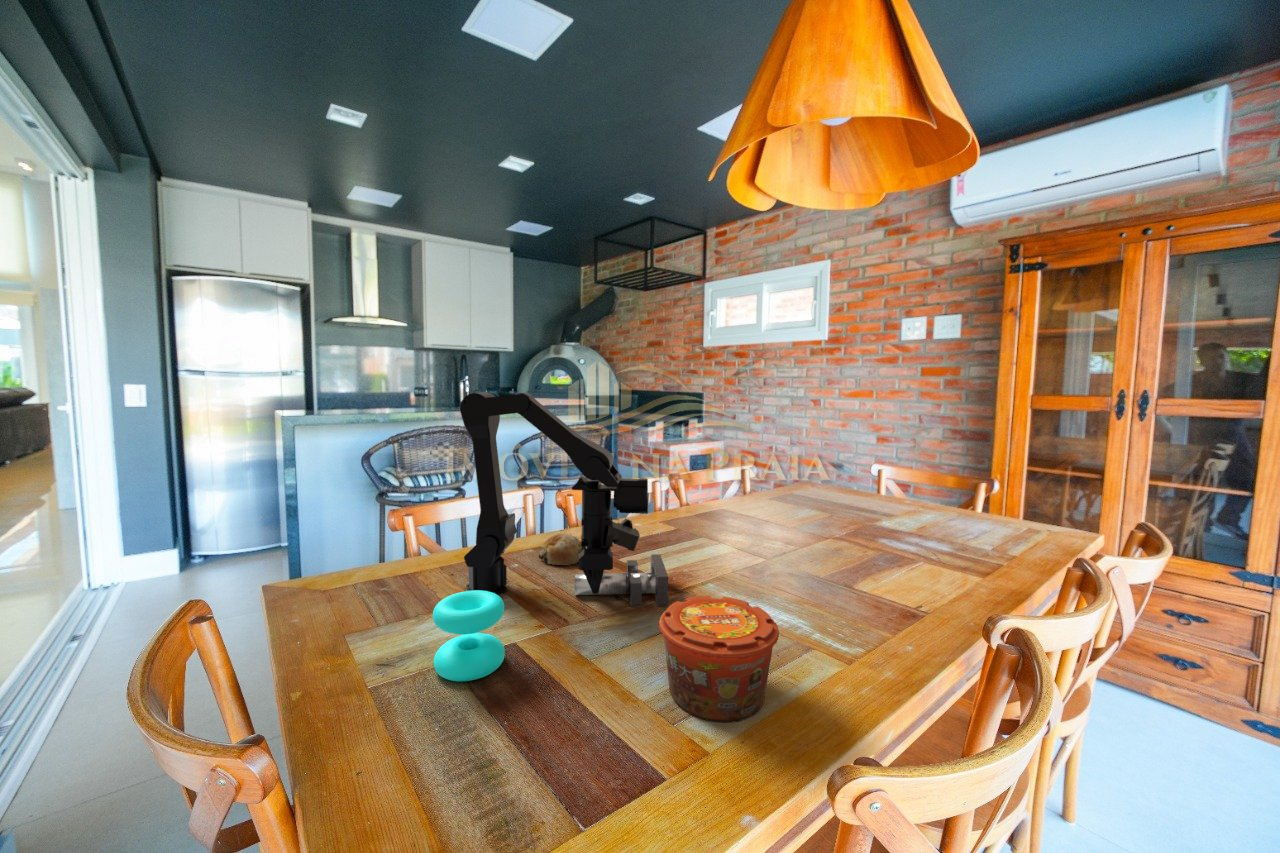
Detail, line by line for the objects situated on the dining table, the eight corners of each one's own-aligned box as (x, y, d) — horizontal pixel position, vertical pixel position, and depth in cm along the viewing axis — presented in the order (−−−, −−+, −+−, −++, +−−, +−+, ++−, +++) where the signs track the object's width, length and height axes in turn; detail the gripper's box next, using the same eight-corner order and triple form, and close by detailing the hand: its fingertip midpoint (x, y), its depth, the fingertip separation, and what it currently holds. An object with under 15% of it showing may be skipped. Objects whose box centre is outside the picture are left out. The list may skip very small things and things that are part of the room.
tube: (574, 598, 100) (574, 578, 100) (575, 589, 104) (575, 570, 104) (656, 596, 102) (656, 577, 101) (654, 588, 106) (654, 569, 105)
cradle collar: (630, 606, 97) (631, 583, 97) (627, 581, 109) (627, 560, 109) (641, 606, 97) (641, 583, 97) (636, 580, 110) (636, 560, 109)
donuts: (492, 617, 70) (420, 615, 71) (493, 686, 71) (421, 684, 72) (512, 588, 80) (449, 586, 81) (512, 649, 81) (450, 647, 82)
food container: (694, 746, 60) (696, 658, 59) (639, 674, 75) (640, 602, 74) (802, 713, 67) (805, 633, 66) (732, 652, 81) (734, 586, 80)
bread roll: (572, 582, 118) (587, 552, 117) (531, 563, 117) (546, 532, 117) (577, 567, 127) (591, 538, 127) (540, 549, 127) (554, 520, 127)
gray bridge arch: (657, 606, 97) (657, 576, 97) (650, 580, 110) (650, 554, 109) (667, 605, 98) (668, 576, 97) (659, 580, 110) (660, 554, 110)
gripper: (641, 524, 93) (639, 608, 94) (634, 500, 111) (632, 571, 113) (578, 525, 92) (578, 610, 93) (582, 501, 110) (581, 571, 112)
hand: (595, 588), depth 103 cm, fingers closed on tube, 4 cm apart
